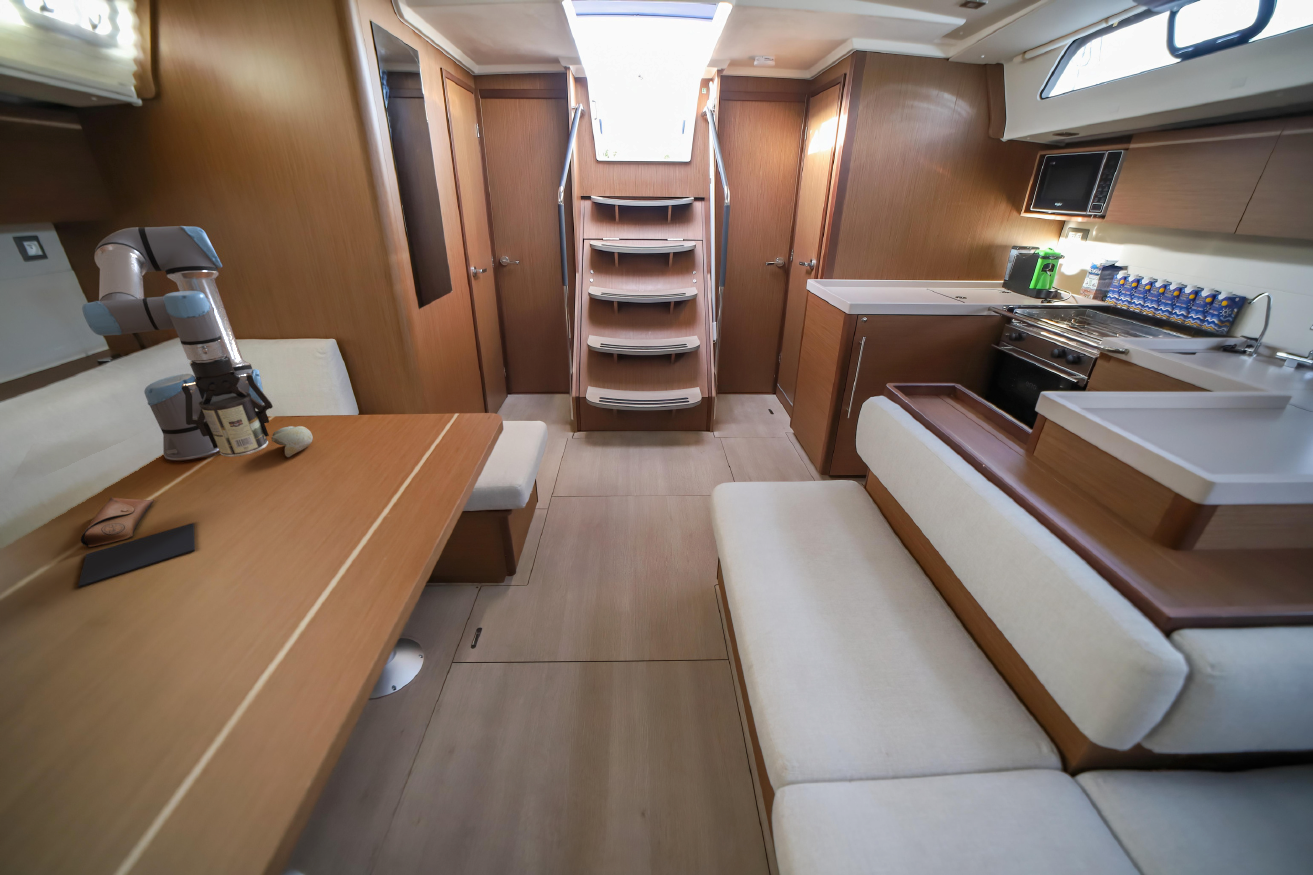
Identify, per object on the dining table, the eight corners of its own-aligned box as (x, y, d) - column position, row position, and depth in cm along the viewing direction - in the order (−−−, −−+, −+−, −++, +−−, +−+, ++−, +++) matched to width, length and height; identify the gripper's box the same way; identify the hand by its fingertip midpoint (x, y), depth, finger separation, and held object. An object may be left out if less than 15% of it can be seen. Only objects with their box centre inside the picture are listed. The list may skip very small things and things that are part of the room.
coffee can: (250, 436, 137) (232, 388, 131) (277, 442, 134) (260, 394, 128) (209, 453, 128) (187, 402, 122) (237, 460, 126) (217, 408, 119)
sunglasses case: (134, 535, 115) (102, 519, 111) (106, 556, 114) (72, 540, 110) (155, 498, 129) (127, 482, 125) (130, 516, 128) (101, 501, 124)
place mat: (87, 555, 110) (86, 554, 109) (193, 524, 120) (193, 522, 120) (78, 587, 101) (77, 586, 101) (194, 550, 111) (194, 549, 111)
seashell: (267, 424, 154) (304, 414, 158) (279, 445, 159) (315, 434, 163) (267, 443, 145) (306, 432, 149) (280, 465, 150) (318, 453, 154)
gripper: (144, 371, 111) (185, 458, 121) (267, 353, 125) (295, 433, 135) (145, 363, 116) (184, 447, 126) (264, 346, 130) (290, 424, 140)
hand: (241, 440), depth 130 cm, fingers closed on coffee can, 10 cm apart
